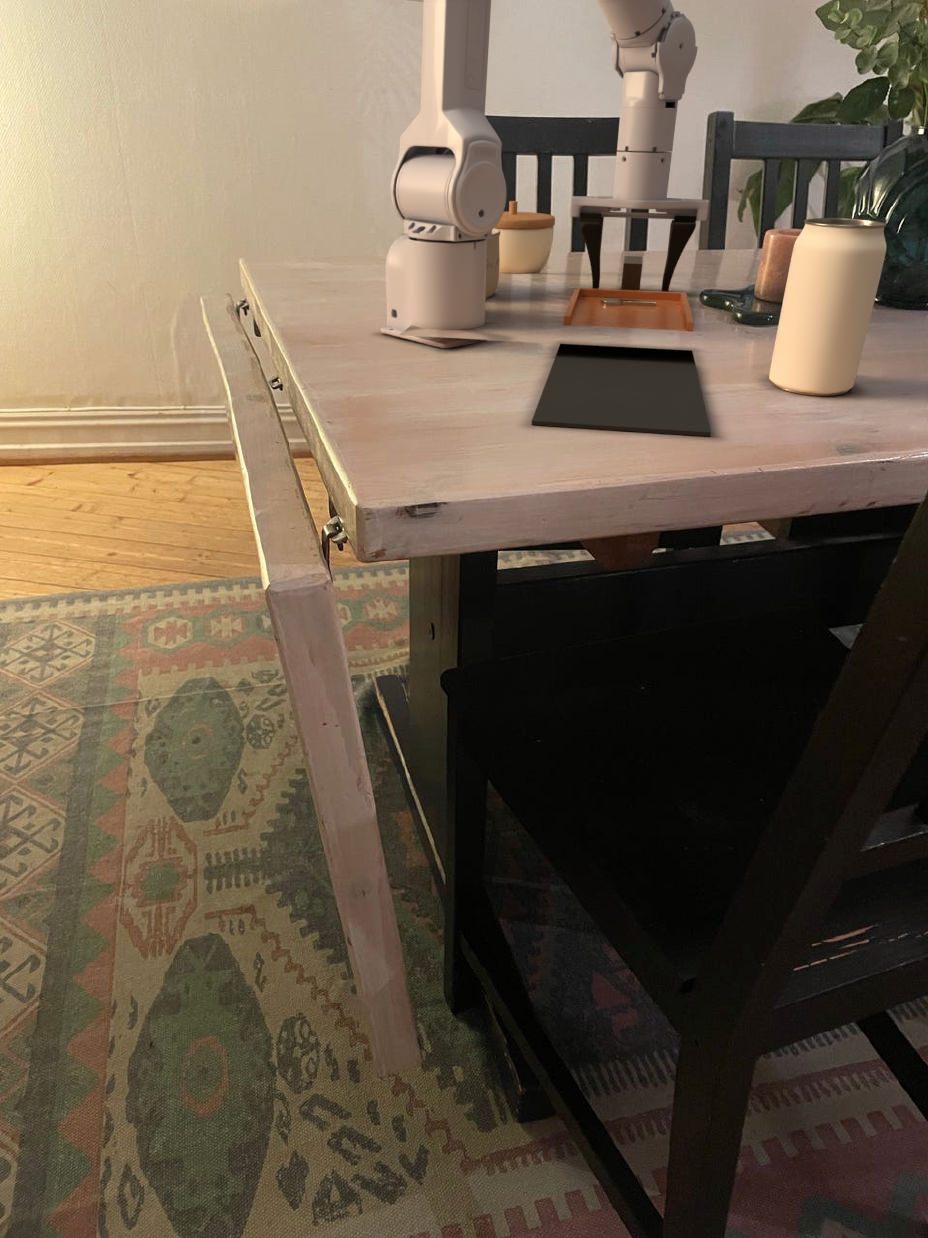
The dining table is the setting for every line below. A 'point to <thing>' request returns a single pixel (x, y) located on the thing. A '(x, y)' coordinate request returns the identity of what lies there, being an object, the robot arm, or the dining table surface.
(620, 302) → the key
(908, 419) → the dining table surface
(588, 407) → the mat
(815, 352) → the can
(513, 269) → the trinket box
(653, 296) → the dustpan
